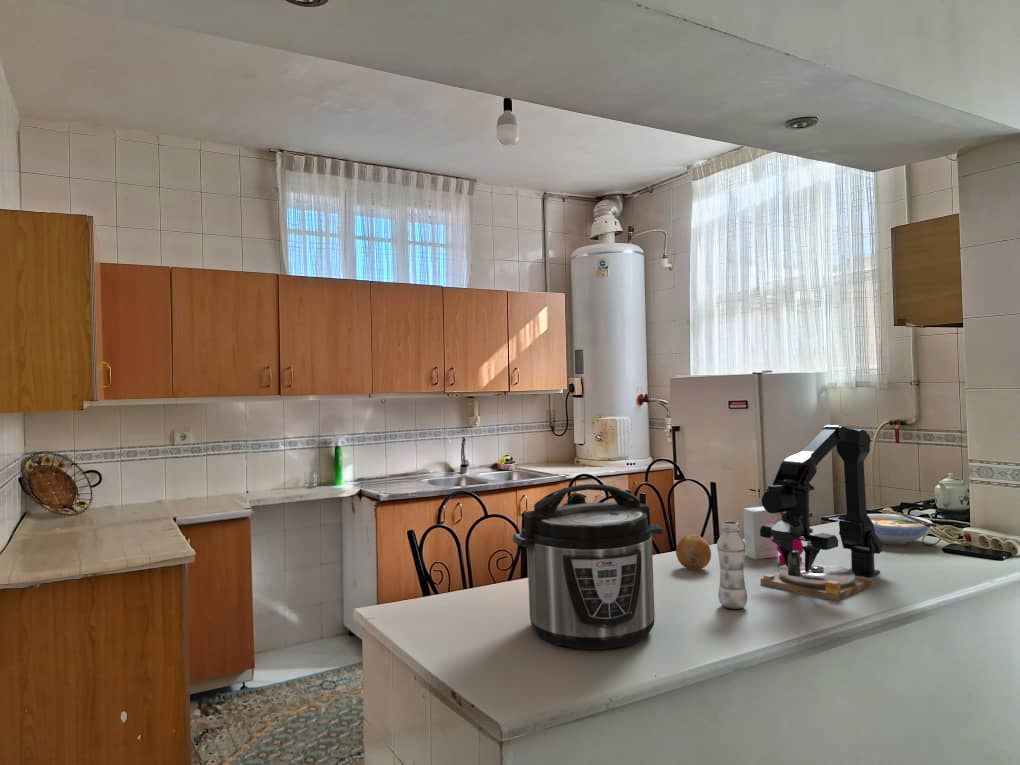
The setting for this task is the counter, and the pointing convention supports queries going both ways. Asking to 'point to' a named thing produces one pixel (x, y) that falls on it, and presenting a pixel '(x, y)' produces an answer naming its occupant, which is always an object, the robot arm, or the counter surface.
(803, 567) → the dial
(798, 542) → the pepper mill
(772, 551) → the skincare box
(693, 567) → the onion
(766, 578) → the dial base
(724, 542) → the plastic bottle
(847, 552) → the counter surface
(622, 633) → the pressure cooker
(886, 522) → the ramen bowl
